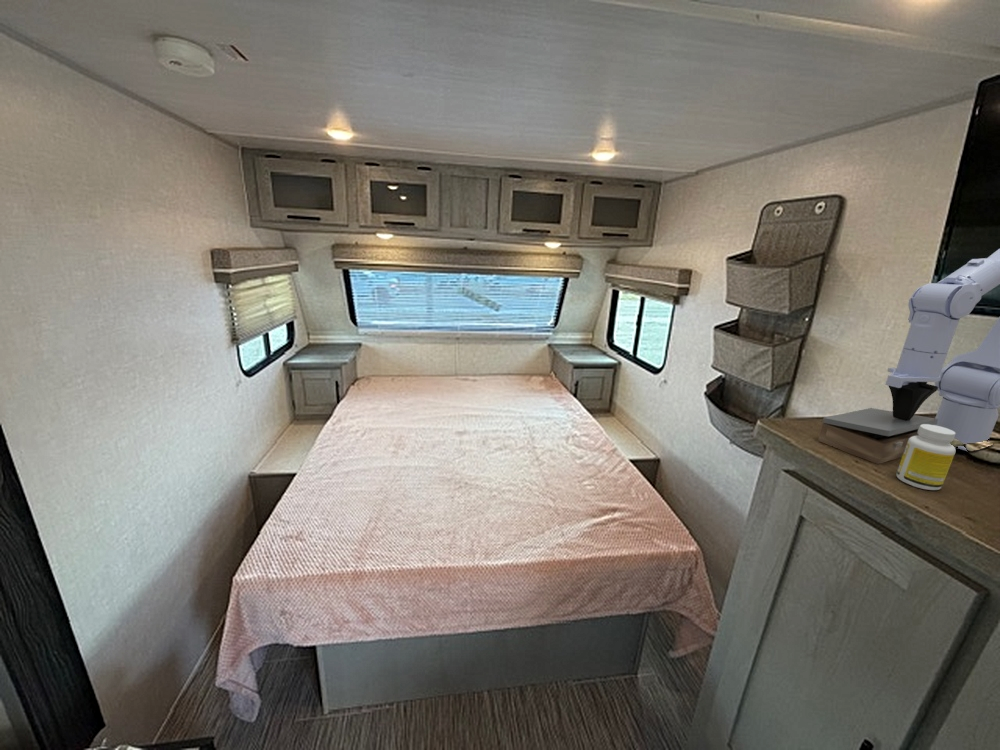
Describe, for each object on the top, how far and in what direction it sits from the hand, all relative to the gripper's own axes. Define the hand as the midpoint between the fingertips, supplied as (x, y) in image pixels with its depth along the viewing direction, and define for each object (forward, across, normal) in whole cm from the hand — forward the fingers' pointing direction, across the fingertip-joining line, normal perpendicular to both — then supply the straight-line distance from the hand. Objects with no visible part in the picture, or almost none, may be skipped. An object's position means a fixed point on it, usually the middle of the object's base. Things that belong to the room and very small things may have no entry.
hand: (901, 418), depth 77 cm
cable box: (+6, +3, -2) cm, 7 cm away
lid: (+1, +3, -2) cm, 4 cm away
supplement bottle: (+7, +12, +9) cm, 16 cm away
